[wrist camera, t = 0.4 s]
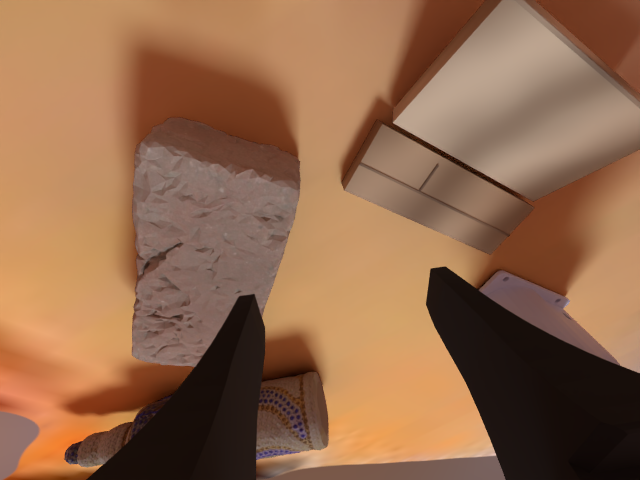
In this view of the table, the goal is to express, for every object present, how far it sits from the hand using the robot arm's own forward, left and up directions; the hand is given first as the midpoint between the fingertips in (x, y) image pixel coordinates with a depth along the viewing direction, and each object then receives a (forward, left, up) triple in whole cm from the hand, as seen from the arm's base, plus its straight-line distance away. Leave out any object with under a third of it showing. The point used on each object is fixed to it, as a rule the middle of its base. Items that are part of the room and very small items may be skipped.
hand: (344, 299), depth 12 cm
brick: (+5, +6, -10) cm, 13 cm away
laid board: (-7, -4, -10) cm, 13 cm away
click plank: (-7, -10, -8) cm, 14 cm away
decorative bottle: (+1, +25, -10) cm, 27 cm away
